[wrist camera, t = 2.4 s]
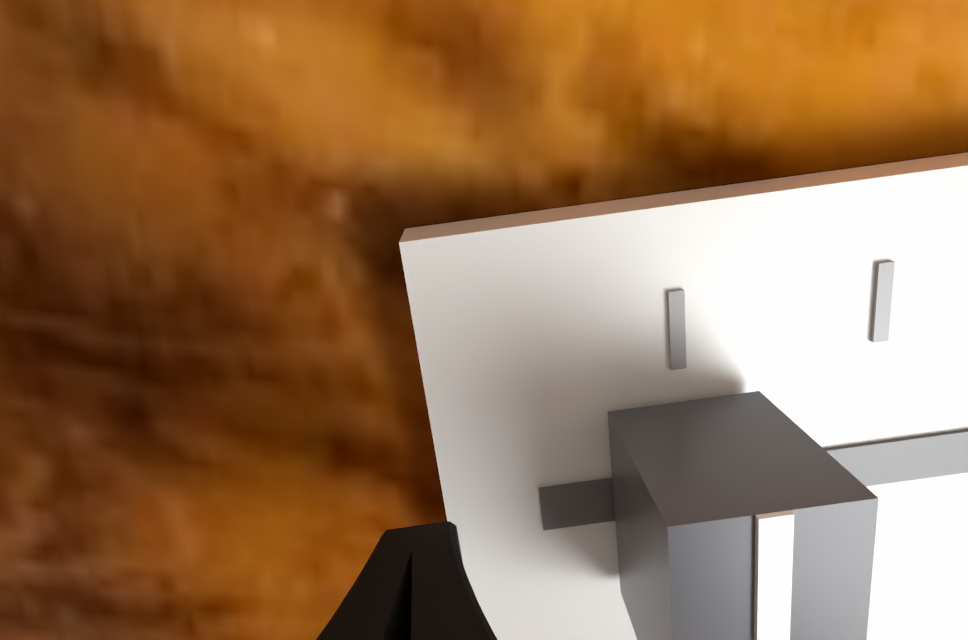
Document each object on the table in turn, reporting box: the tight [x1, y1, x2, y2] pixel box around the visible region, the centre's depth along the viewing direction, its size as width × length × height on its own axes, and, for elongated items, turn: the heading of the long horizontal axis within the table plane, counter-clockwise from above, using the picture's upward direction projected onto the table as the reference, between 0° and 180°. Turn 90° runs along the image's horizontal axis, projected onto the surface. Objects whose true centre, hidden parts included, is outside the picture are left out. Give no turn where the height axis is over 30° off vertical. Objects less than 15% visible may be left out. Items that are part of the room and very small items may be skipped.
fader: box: [608, 391, 879, 640], centre depth 11 cm, size 4×3×4 cm
